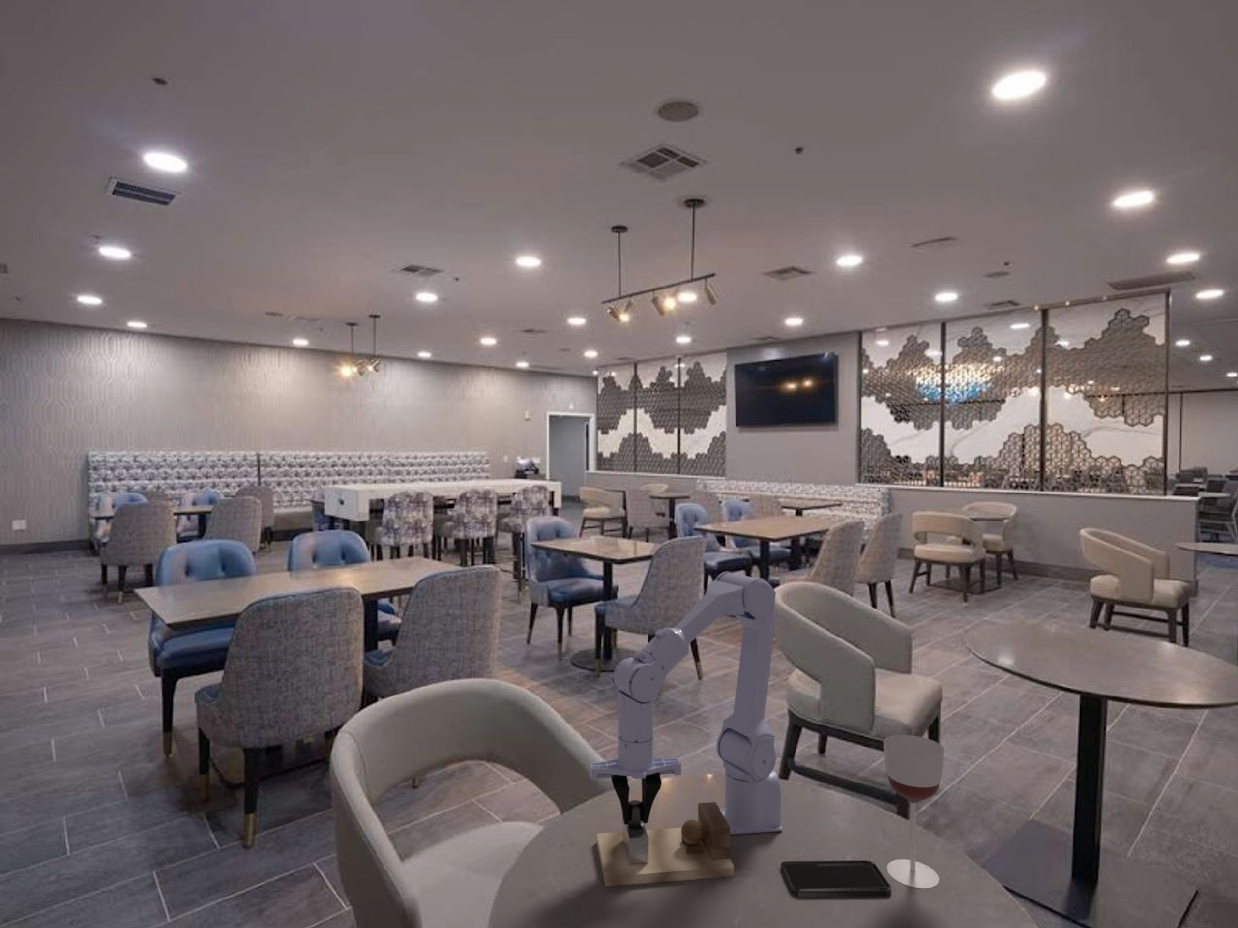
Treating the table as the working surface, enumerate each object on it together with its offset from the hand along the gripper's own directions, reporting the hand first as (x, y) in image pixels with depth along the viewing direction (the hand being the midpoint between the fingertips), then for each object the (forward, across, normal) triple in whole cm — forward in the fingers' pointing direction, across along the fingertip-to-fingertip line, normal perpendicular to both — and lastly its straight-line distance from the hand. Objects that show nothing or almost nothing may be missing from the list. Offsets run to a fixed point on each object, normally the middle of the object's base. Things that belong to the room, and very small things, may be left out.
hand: (635, 820), depth 107 cm
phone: (+7, +30, -9) cm, 32 cm away
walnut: (+2, +9, 0) cm, 10 cm away
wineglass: (+7, +42, -9) cm, 44 cm away
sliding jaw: (+5, 0, 0) cm, 5 cm away
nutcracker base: (+6, +4, 0) cm, 8 cm away
